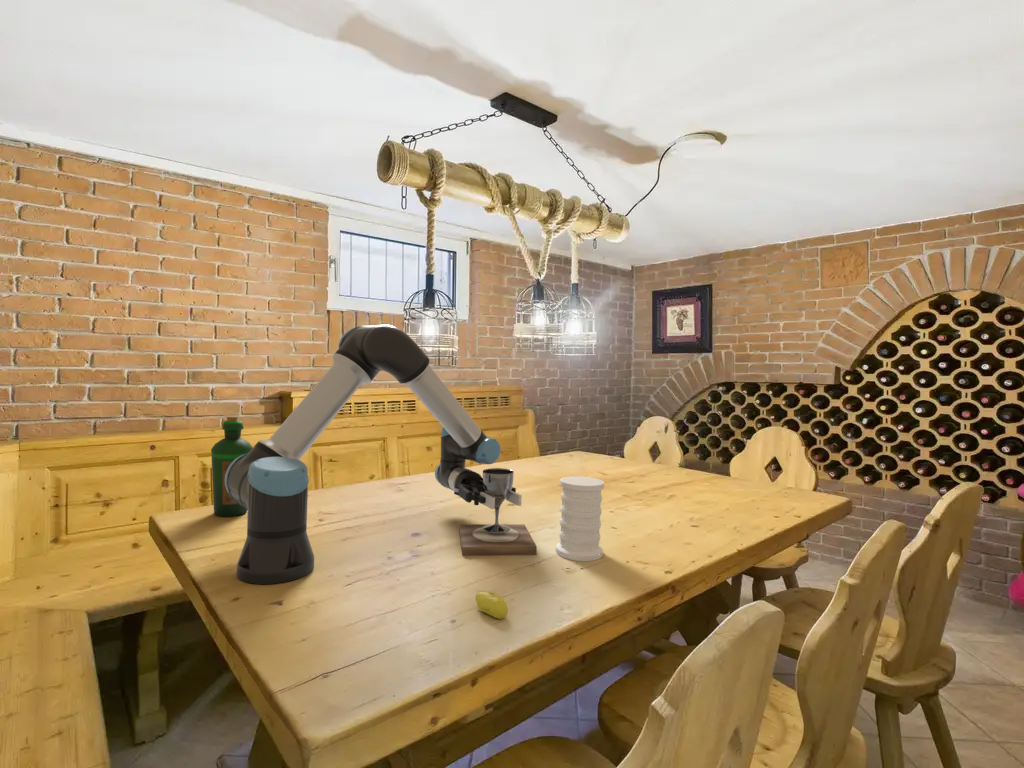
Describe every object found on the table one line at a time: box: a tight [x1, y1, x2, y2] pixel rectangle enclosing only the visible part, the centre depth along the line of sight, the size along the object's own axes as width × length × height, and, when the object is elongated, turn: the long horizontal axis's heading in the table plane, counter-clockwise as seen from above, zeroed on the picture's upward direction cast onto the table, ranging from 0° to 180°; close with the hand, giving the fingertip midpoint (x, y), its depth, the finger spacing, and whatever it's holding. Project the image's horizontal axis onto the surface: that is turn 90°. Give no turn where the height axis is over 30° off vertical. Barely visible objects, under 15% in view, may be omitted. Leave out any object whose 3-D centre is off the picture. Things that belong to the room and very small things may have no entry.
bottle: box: [210, 415, 254, 517], centre depth 154 cm, size 11×11×28 cm
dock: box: [458, 523, 537, 556], centre depth 138 cm, size 18×18×2 cm
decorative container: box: [555, 475, 605, 562], centre depth 133 cm, size 12×12×18 cm
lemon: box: [475, 590, 509, 620], centre depth 99 cm, size 4×8×4 cm, turn 38°
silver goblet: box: [482, 467, 514, 533], centre depth 138 cm, size 8×8×15 cm
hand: (506, 502), depth 133 cm, fingers open, 7 cm apart
